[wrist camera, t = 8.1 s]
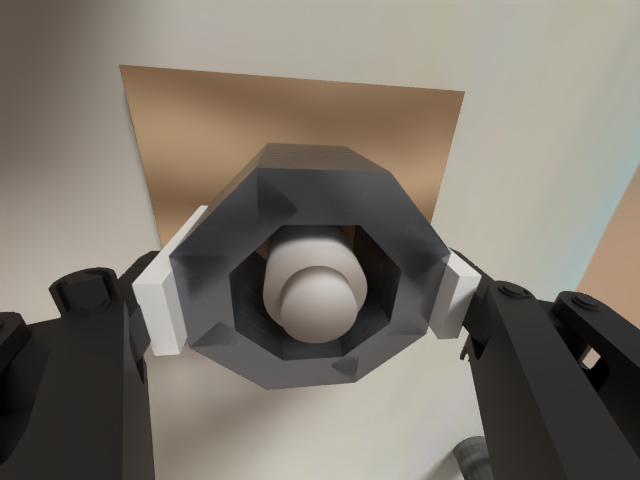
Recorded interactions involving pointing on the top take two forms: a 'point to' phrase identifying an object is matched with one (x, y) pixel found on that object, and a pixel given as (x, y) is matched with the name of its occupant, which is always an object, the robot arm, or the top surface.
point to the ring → (249, 267)
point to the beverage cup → (474, 459)
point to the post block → (291, 128)
